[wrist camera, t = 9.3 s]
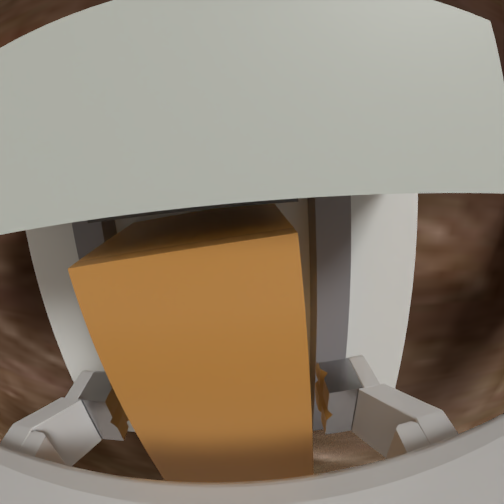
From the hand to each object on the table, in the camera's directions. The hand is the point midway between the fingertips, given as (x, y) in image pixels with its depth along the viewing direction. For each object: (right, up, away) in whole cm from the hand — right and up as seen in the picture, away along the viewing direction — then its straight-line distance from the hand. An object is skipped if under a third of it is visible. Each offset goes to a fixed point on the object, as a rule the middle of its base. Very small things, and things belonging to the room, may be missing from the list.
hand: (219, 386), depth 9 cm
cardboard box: (0, +1, +3) cm, 3 cm away
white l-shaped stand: (0, +3, +4) cm, 5 cm away
